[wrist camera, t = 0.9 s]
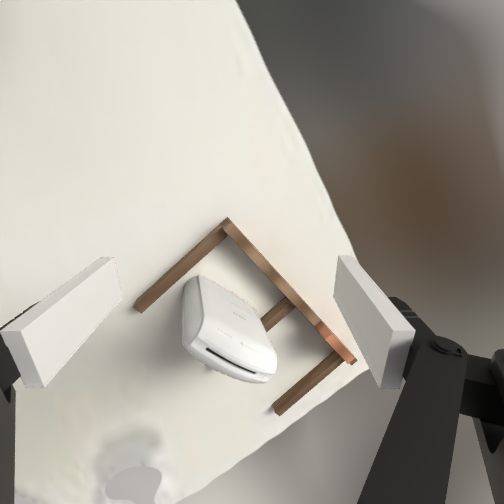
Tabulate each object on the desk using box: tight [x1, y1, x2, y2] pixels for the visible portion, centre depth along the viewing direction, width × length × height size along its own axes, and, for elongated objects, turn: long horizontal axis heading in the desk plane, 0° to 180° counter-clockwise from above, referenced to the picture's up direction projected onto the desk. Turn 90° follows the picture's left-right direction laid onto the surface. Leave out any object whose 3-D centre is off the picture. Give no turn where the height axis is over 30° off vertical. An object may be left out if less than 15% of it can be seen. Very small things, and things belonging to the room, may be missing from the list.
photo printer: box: [182, 275, 277, 383], centre depth 29 cm, size 10×4×12 cm, turn 50°
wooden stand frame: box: [133, 217, 357, 416], centre depth 35 cm, size 29×15×6 cm, turn 39°
